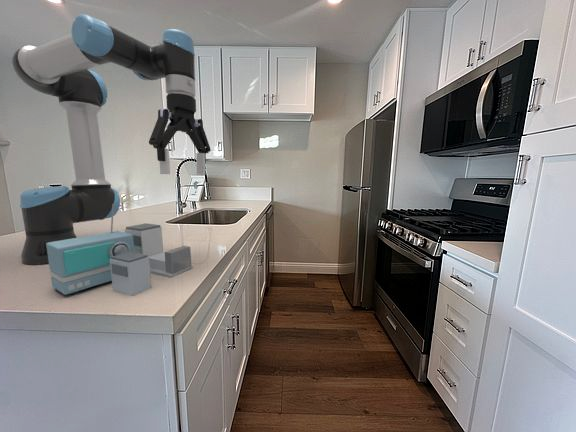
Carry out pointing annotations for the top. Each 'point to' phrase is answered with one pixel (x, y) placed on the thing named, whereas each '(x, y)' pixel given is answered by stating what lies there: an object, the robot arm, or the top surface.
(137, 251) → the block
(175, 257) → the block
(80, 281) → the radio
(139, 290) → the block
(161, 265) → the rail panel
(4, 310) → the top surface
